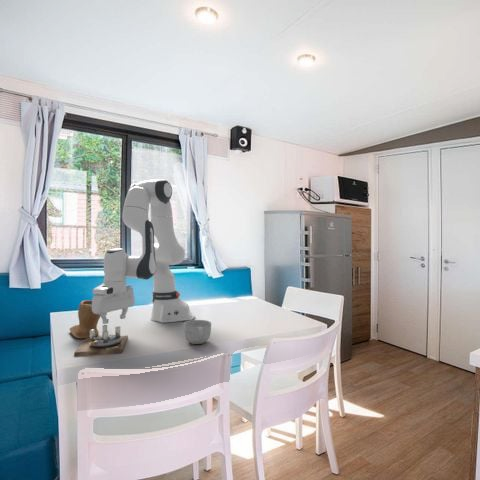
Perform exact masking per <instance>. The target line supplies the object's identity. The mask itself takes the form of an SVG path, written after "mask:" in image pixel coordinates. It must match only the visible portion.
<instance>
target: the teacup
mask: <svg viewBox="0 0 480 480" xmlns="http://www.w3.org/2000/svg"><path fill="white" fill-rule="evenodd" d="M211 331H212V322H211V321H209V320H204V319H192V320H185V321H184V332H183V333H184V338H185V340H186V341H187V342H188V343H189V344H193V345H200V344H201V345H202V344H205V343H206V342H207V341H208V340H209V339H210V338H211V334H212V333H211Z"/></svg>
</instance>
